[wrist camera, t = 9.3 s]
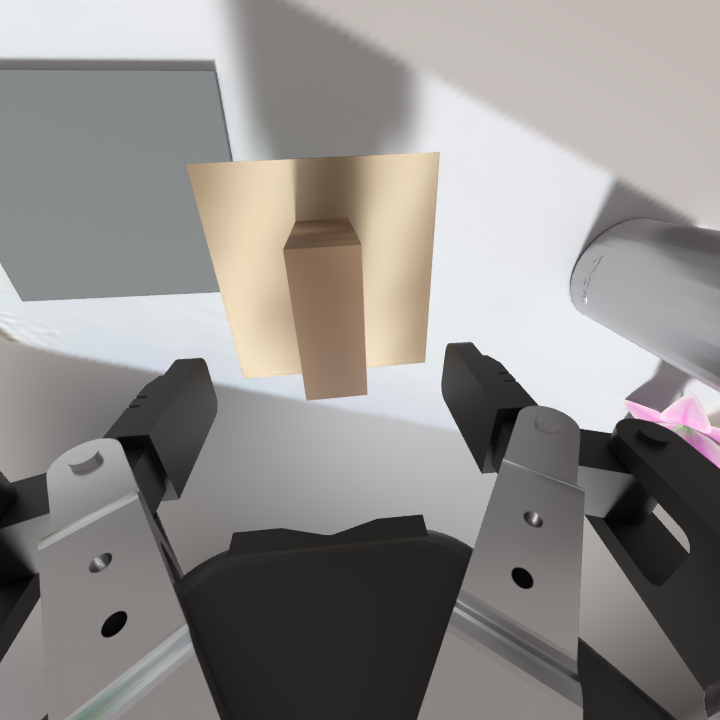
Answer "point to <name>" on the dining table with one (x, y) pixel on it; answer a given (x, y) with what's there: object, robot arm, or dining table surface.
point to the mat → (106, 181)
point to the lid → (322, 262)
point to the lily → (684, 424)
